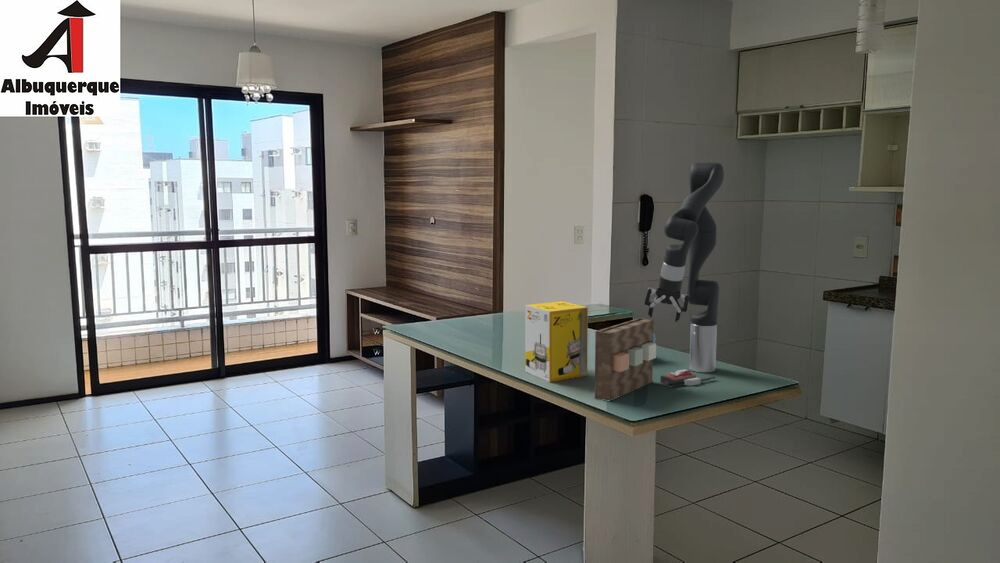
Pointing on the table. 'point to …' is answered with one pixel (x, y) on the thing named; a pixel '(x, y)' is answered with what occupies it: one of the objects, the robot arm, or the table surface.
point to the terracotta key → (620, 361)
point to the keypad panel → (620, 341)
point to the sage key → (635, 356)
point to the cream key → (649, 351)
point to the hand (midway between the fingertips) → (663, 318)
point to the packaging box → (556, 340)
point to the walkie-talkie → (682, 378)
